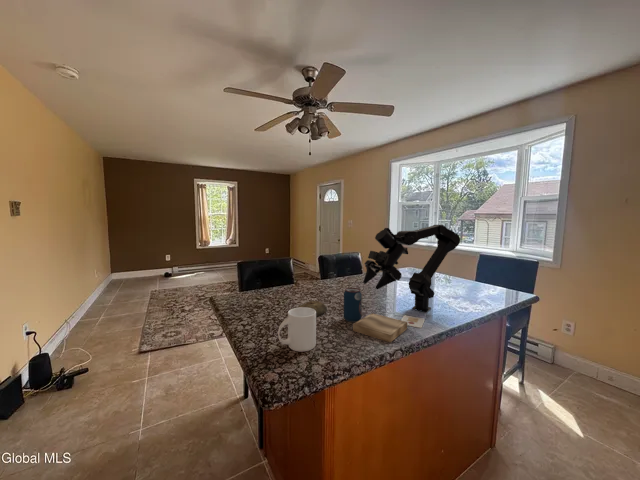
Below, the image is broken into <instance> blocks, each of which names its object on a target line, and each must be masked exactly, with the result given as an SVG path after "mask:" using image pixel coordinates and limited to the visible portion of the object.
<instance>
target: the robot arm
mask: <svg viewBox="0 0 640 480" xmlns="http://www.w3.org/2000/svg"><path fill="white" fill-rule="evenodd" d="M433 236H435V239H437V242H436V243H437V244H436V245H437V248H435V250H434V252H433V253H432V255H431V256H430V257H429V259H428V261H427V262H426V263H425V265H424V267H423V268H422V270H421V271H420V272H418V273H417V272H414V273H413V274H412V276H411V277H410V278H409V279H408V280H409V281H408V287H409V288H408V289H410V293H411V294H413V295H414V306H412V308H411V310H414V311H418V312H424V313H427V312H429V311H430V310H432V307H431V306H429V305H430V302H429V301H430V300H429V299H432V298H434V296H435V291H434V290H433V289H432V288H431V286H432V277H433V276H434V275H435V273H436V272H437V270H438V269H439V267H440V266H441V264H442V263H443V261H444V259H445V258H446V257H447V255H448V253H449V252H452V251H453V250H455V249H456V248H457V247H458V246H459V245H460V243H461V237H460V235H459V234H458V233H456V232H455V231H453V230H451V229H449V228H448V227H446V226H445V225H444V224H433V225H430V226H427V227H423V228H419V229H418V228H417V229H414V230H399V231H397V232H396V234H394V233H393V232H392V230H391V229H390V228H389V227H385V228H384V229H382V230H380V231H379V232H378V233H376V235H375V237H374V239H375V241H376V242H378V243H379V245H380V246H381V247H383V249H387V250H386V251H383V250H380V251H379V252H378V251H374V250H370V251H369V253H368V256H367V259H366V261H365V262H364V266H365V268H366V271H365V276H364V278H363V282H362V283H363V284H364V285H366V284H367V283H369V282H370V281H371V280H372V279H374V278H375V277H376V276H377V275H378V273H379V272H382V275H381V277H380V279H379V281H378V282H377V284H376V285H375V289H376V290H379V289H381V288H384V287H385V286H387V285H389V284H392V283H393V282H397V281H400V279H401V278H402V277H403V276H402V275H403V274H402V273H401V271H400V270H399V269H397V268H396V266H395V265H398V264H399V259H401V257H402V255H403V254H404V255H408V254H409V249H408V247H405V246H412V245H415V244H416V243H418V242H419V240H421V239H422V240H423V239H425V238H430V237H433Z"/></svg>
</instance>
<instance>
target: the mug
mask: <svg viewBox="0 0 640 480" xmlns="http://www.w3.org/2000/svg"><path fill="white" fill-rule="evenodd" d="M285 326H287V338H286V339H283V338H282V337H281V335H280V332H281V330H282V328H283V327H285ZM277 331H278V332H277V334H278V335H277V337H278V339H279V341H280V343H281V344H283V345H285V346H286V345H287V346H288V347H289V348H290V349H291V350H292V351H294V352H300V353H301V352H309V351H312V350H313V349H314V348H315V347H316V344H317V317H316V311H315V310H314V309H312V308H307V307H299V308H297V307H295V308H291V309H289V310H288V311H287V318H285V319H284V320H283V321H282V322H281V323H280V325H279V327H278V329H277Z"/></svg>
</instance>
